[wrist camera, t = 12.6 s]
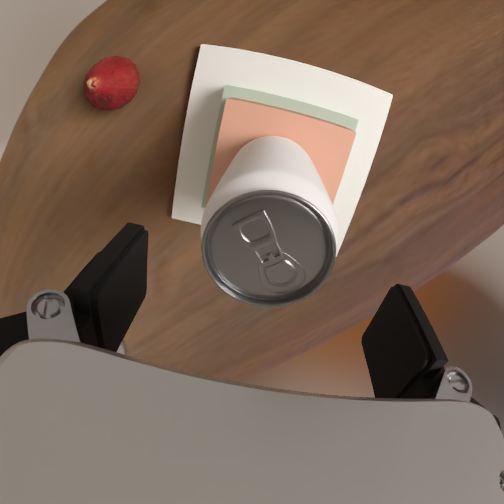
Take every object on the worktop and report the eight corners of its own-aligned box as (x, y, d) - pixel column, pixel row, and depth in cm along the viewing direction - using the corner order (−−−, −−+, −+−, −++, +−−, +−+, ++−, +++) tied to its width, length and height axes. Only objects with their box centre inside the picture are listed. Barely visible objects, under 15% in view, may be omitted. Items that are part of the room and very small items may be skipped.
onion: (151, 103, 28) (116, 110, 22) (107, 109, 29) (67, 119, 22) (150, 54, 25) (115, 48, 19) (106, 63, 26) (65, 62, 19)
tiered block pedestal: (334, 251, 36) (348, 299, 28) (174, 214, 35) (146, 253, 27) (389, 94, 26) (428, 98, 18) (204, 45, 25) (176, 30, 17)
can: (255, 225, 25) (239, 330, 15) (215, 158, 22) (161, 225, 12) (327, 193, 23) (365, 284, 13) (291, 120, 20) (307, 150, 10)
